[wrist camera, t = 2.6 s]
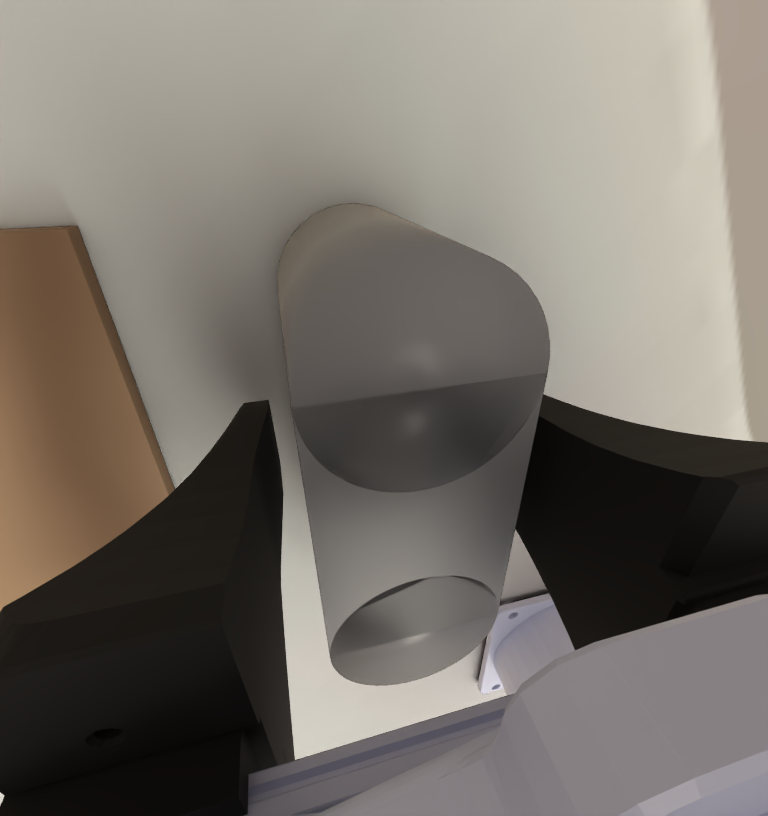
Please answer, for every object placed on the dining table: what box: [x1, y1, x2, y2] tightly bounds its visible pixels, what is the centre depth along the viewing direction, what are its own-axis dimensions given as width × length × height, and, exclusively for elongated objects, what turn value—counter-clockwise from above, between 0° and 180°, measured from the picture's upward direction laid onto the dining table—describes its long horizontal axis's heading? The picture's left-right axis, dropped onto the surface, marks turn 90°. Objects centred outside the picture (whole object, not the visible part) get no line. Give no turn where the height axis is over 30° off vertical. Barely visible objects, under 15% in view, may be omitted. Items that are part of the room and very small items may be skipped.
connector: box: [277, 203, 550, 686], centre depth 11 cm, size 4×12×6 cm, turn 1°
